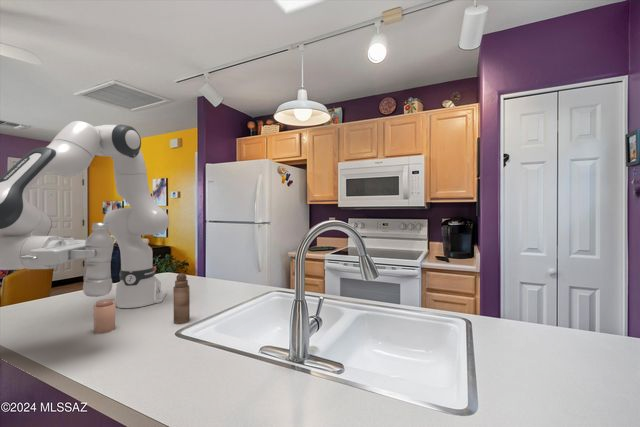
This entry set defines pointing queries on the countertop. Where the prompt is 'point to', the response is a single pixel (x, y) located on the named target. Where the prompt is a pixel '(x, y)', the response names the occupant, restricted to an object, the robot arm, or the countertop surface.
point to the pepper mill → (181, 300)
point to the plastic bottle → (99, 262)
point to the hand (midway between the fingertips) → (103, 251)
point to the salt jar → (104, 316)
